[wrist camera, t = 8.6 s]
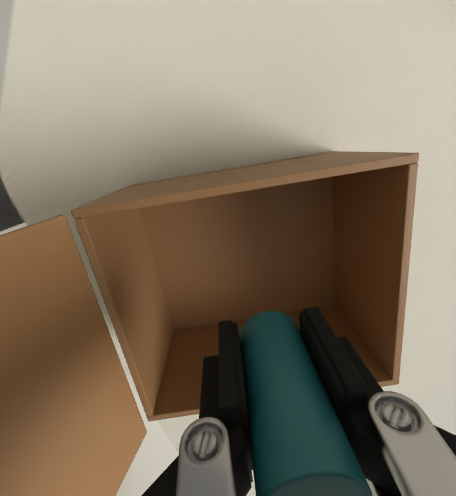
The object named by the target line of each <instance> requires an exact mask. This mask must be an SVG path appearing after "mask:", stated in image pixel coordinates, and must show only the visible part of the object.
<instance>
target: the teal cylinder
mask: <svg viewBox="0 0 456 496" xmlns="http://www.w3.org/2000/svg"><path fill="white" fill-rule="evenodd" d="M239 337H240V344H241V352H242V361H243V370H244V379H245V388H246V396H247V405H248V414H249V423H250V444H251V453H252V462H253V471H254V481H255V490H256V496H372V492H371V489H370V487H369V485H368V482H367V480H366V478H365V476H364V473H363V471H362V469H361V467H360V465H359V462H358V460H357V458H356V456H355V453H354V451H353V449H352V447H351V444H350V442H349V440H348V438H347V436H346V433H345V431H344V429H343V427H342V424H341V422H340V420H339V418H338V416H337V413H336V411H335V409H334V407H333V404H332V402H331V400H330V398H329V396H328V393H327V391H326V389H325V387H324V384H323V382H322V380H321V378H320V375H319V373H318V371H317V369H316V366H315V364H314V362H313V360H312V357H311V355H310V353H309V351H308V349H307V346H306V344H305V342H304V340H303V337H302V335H301V333H300V331H299V328H298V326H297V324H296V323H295V321H294V320H293V319H292V318H291V317H289V316H288V315H286V314H284V313H282V312H278V311H265V312H261V313H258V314H256V315H254V316H252V317H251V318H249V319H248V320H247V321H246V322H245V323H244V325H243V326H242V328H241V330H240V334H239Z"/></svg>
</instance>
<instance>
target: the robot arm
mask: <svg viewBox="0 0 456 496" xmlns="http://www.w3.org/2000/svg"><path fill="white" fill-rule="evenodd" d="M299 322H300V333H301V335H302V337H303V340H304V342H305V344H306V346H307V349H308V351H309V353H310V355H311V357H312V360H313V362H314V364H315V366H316V369H317V371H318V373H319V375H320V378H321V380H322V382H323V384H324V387H325V389H326V391H327V393H328V396H329V398H330V400H331V402H332V404H333V407H334V409H335V411H336V413H337V416H338V418H339V420H340V422H341V424H342V427H343V429H344V431H345V433H346V436H347V438H348V440H349V442H350V444H351V447H352V449H353V451H354V453H355V456H356V458H357V460H358V462H359V465H360V467H361V469H362V471H363V473H364V476H365V478H366V479H367V482H368V485H369V487H370V489H371V492H372V496H456V435H453V434H451V433H449V432H447V431H445V430H443V429H441V428H439V427H436V426H434V425H433V424H432V422H431V421H430V419H429V418H428V417H427V415H426V414H425V412H424V411H423V410H422V409H421V408H420V406H419V405H418V404H417V403H415V402H414V401H413V400H411V399H410V398H408V397H406V396H404V395H402V394H400V393H396V392H392V391H383V390H382V388H381V387H380V385H379V384H378V382H377V381H376V379H375V378H374V376H373V375H372V373H371V372H370V371H369V369H368V368H367V366H366V365H365V363H364V362H363V360H362V359H361V357H360V356H359V354H358V353H357V351H356V350H355V349H354V347H353V346H352V344H351V343H350V341H349V340H348V339H347V337H345V336H341V337H336V335H335V334H334V332H333V331H332V329H331V327H330V326H329V324H328V323H327V321H326V319H325V318H324V316H323V315H322V313H321V311H320V310H319V308H318V307H311V308H305V309H303V312H302V313H299ZM252 470H253V462H252V453H251V444H250V423H249V414H248V405H247V396H246V388H245V379H244V370H243V361H242V352H241V344H240V337H239V331H238V326H237V323H232V320H226V321H220V322H219V355H215V356H208V357H204V359H203V371H202V385H201V398H200V412H199V419H197V420H196V421H194V422H193V423H191V424H190V425H189V426H188V427H187V429H186V430H185V431H184V433H183V435H182V437H181V441H180V446H179V456H178V457H177V458H176V459H175V460H174V461H173V462H172V463H171V464H170V466H169V467H168V468H167V469H166V470H165V471H164V472H163V473H162V474H161V475H160V476H159V477H158V478H157V480H156V481H155V482H154V483H153V484H152V485H151V486H150V487H149V488H148V489H147V490H146V491H145V492H144V494H143V495H142V496H246V495H247V493H248V492H249V490H250V489H251V482H253V480H252Z"/></svg>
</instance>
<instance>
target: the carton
mask: <svg viewBox="0 0 456 496" xmlns="http://www.w3.org/2000/svg"><path fill="white" fill-rule="evenodd" d="M418 158H419V153H396V152H338V151H335V152H329V153H323V154H317V155H311V156H305V157H299V158H293V159H287V160H281V161H275V162H269V163H263V164H257V165H251V166H245V167H239V168H233V169H227V170H221V171H215V172H209V173H203V174H197V175H190V176H184V177H178V178H172V179H166V180H160V181H154V182H148V183H142V184H136V185H131V186H128V187H126V188H123V189H121V190H119V191H116V192H114V193H111V194H109V195H107V196H104V197H102V198H99V199H97V200H95V201H92V202H90V203H87V204H85V205H83V206H80V207H78V208H75V209H73V210H71V213H72V215H73V218H74V219H75V220H74V221H75V223H76V226H77V229H78V231H79V234H80V237H81V240H82V242H83V245H84V248H85V250H86V253H87V256H88V259H89V261H90V264H91V267H92V269H93V272H94V275H95V278H96V280H97V283H98V286H99V288H100V291H101V294H102V297H103V299H104V302H105V305H106V307H107V310H108V313H109V316H110V318H111V321H112V324H113V326H114V329H115V332H116V335H117V337H118V340H119V343H120V345H121V348H122V351H123V354H124V356H125V359H126V362H127V364H128V367H129V370H130V373H131V375H132V378H133V381H134V383H135V386H136V389H137V392H138V394H139V397H140V400H141V402H142V405H143V407H144V411H145V413H146V416H147V419H148V421H153V420H161V419H167V418H174V417H181V416H188V415H194V414H199V412H200V398H201V385H202V371H203V359H204V357H208V356H215V355H219V322H220V321H226V320H232V323H237V326H238V331H239V334H240V330H241V328H242V326H243V325H244V323H245V322H246V321H247V320H248V319H249V318H251V317H252V316H254V315H256V314H258V313H261V312H265V311H278V312H282V313H284V314H286V315H288V316H289V317H291V318H292V319H293V320H294V321H295V323H296V324H297V326H298V328H299V331H300V322H299V313H302V312H303V309H305V308H311V307H318V308H319V310H320V311H321V313H322V315H323V316H324V318H325V319H326V321H327V323H328V324H329V326H330V327H331V329H332V331H333V332H334V334H335V335H336V337H341V336H345V337H347V339H348V340H349V341H350V343H351V344H352V346H353V347H354V349H355V350H356V351H357V353H358V354H359V356H360V357H361V359H362V360H363V362H364V363H365V365H366V366H367V368H368V369H369V371H370V372H371V373H372V375H373V376H374V378H375V379H376V381H377V382H378V384H379V385H380V387H382V386H389V385H396V384H399V375H400V363H401V352H402V340H403V329H404V318H405V306H406V295H407V283H408V272H409V260H410V249H411V238H412V226H413V215H414V203H415V192H416V180H417V169H418V163H417V162H418Z"/></svg>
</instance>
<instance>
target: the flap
mask: <svg viewBox="0 0 456 496" xmlns="http://www.w3.org/2000/svg"><path fill="white" fill-rule="evenodd" d="M146 433H147V431H146V428H145V425H144V423H143V420H142V417H141V415H140V412H139V410H138V407H137V404H136V402H135V399H134V396H133V394H132V391H131V388H130V386H129V383H128V380H127V378H126V375H125V373H124V370H123V367H122V365H121V362H120V359H119V357H118V354H117V351H116V349H115V346H114V343H113V341H112V338H111V336H110V333H109V330H108V328H107V325H106V322H105V320H104V317H103V314H102V312H101V309H100V307H99V304H98V301H97V299H96V296H95V293H94V291H93V288H92V285H91V283H90V280H89V277H88V275H87V272H86V270H85V267H84V264H83V262H82V259H81V256H80V254H79V251H78V248H77V246H76V243H75V241H74V238H73V235H72V233H71V230H70V227H69V225H68V222H67V219H66V217H65V215H59V216H56V217H53V218H50V219H47V220H44V221H41V222H38V223H35V224H33V225H30V226H27V227H24V228H21V229H18V230H15V231H12V232H9V233H6V234H3V235H0V496H116V494H117V492H118V490H119V488H120V486H121V484H122V481H123V479H124V477H125V475H126V473H127V471H128V469H129V467H130V465H131V463H132V461H133V459H134V457H135V455H136V453H137V451H138V449H139V447H140V445H141V443H142V441H143V439H144V437H145V435H146Z"/></svg>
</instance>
